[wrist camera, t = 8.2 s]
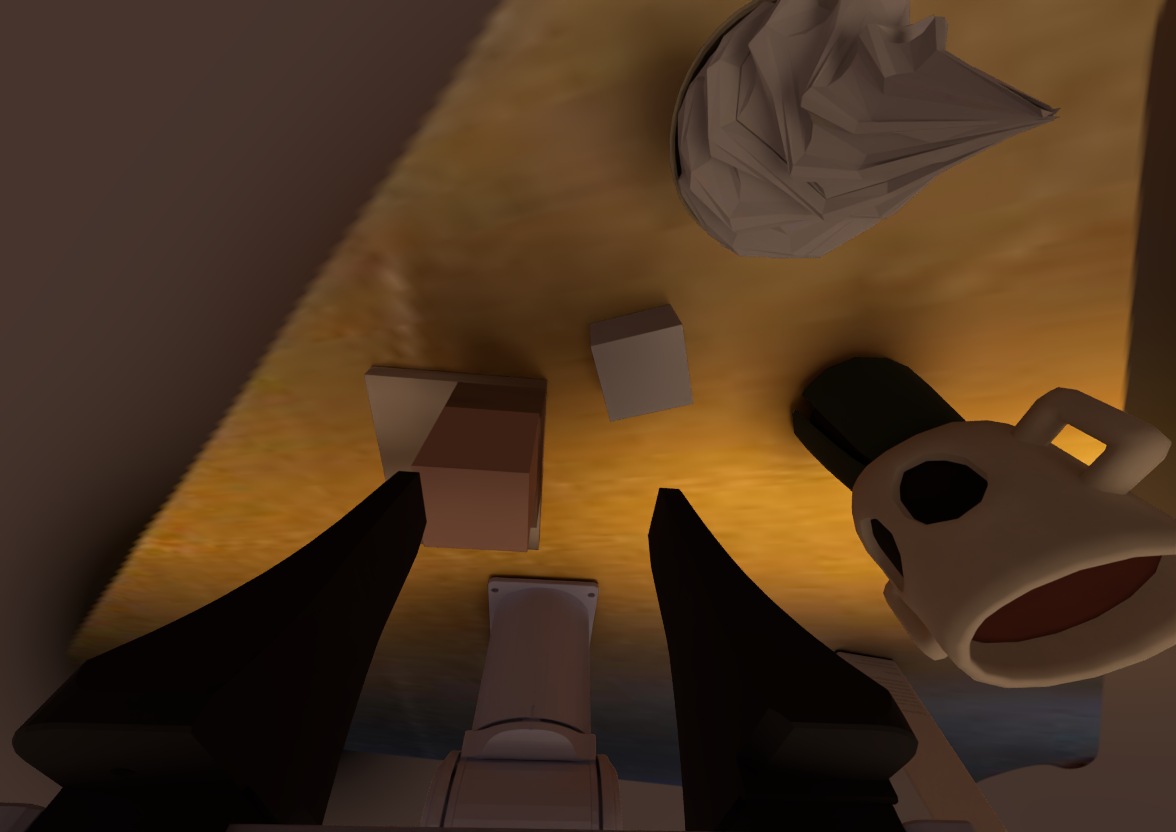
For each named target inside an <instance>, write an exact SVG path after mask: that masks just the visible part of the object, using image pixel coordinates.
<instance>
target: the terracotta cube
mask: <svg viewBox="0 0 1176 832" xmlns="http://www.w3.org/2000/svg"><path fill="white" fill-rule="evenodd" d="M538 437H539V413H526V412H512V411H499V410H485V409H472V408H459V407H445V406H444V408H443V410H442V412H441V413H440V415H439V417H438V419H437V420H436V422H435V424H434V426H433V428H432V429H431V431H430V433H429V435H428V437H427V438H426V440H425V442H424V444H423V445H422V447H421V449H420V451H419V453H418V454H417V456H416V458H415V460H414V462H413V463H412V465H411V467H412V472H420V479H421V485H422V492H423V499H424V506H425V512H426V519H427V524H426V527H425V530H424V534H423V542H424V546H425V547H444V548H462V549H480V550H498V551H517V552H527V550H528V543H529V535H530V528H531V521H532V514H533V507H534V500H535V493H536V486H537V462H538Z"/></svg>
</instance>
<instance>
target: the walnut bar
mask: <svg viewBox="0 0 1176 832" xmlns="http://www.w3.org/2000/svg"><path fill="white" fill-rule="evenodd" d="M545 395H546V389H543V388H530V387H517V386H504V385H491V384H478V383H465V382H458V383H457V385H456V387H455V388H454V390H453V392H452V394H451V395H450V397H449V399H448V401H447V403H446V404H445V407H459V408H472V409H485V410H499V411H512V412H526V413H539V437H538V462H537V486H536V493H535V500H534V507H533V514H532V521H531V528H537V520H538V512H539V504H540V496H541V481H542V459H543V438H544V416H545Z"/></svg>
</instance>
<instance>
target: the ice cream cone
mask: <svg viewBox="0 0 1176 832" xmlns="http://www.w3.org/2000/svg"><path fill="white" fill-rule="evenodd" d="M947 30H948V24H947V22H946V19H945V17H935V16H934V14H933V15H931V16H929V17H927V18H925V19H923V20H921V21H919V22H917V23H915V24H912V25H910V10H909V0H753V1H751V2H750V3H748V4H747V5H745V6H744V7H742V8H740V9H739V10H737V11H736V12H735V13H734V14H733V15H731V16H730V17H729V18H728V19H727V20H726V21H725V22H724V23H723V24H721V25H720V26H719V27H718V28H717V29H716V31H715V32H714V33H713V34H712V36H711V37H710V38H709V39H708V40H707V42H706V43H705V44H704V45H703V47H702V48H701V50H700V51H699V53H698V55H697V56H696V58H695V60H694V61H693V63H692V65H691V66H690V68H689V70H688V72H687V74H686V77H685V79H684V81H683V84H682V86H681V88H680V91H679V93H678V97H677V101H676V104H675V108H674V112H673V115H672V123H671V131H670V164H671V169H672V175H673V180H674V183H675V186H676V189H677V192H678V195H679V197H680V199H681V201H682V203H683V205H684V206H685V208H686V210H687V212H688V213H689V214H690V216H691V217H692V218H693V219H694V220H695V221H696V223H697V224H698V225H699V226H700V227H701V228H703V229H704V230H705V231H706V232H707V233H708V235H710V236H711V237H713V238H714V239H716V240H717V241H719V242H720V243H721V246H723V247H725V248H728V249H730V250H731V251H733V252H734V253H736V254H737V255H739V256H749V257H770V258H820V257H822V256H823V255H825V254H827V253H828V252H830V251H832V250H833V249H835V248H837V247H839V246H840V245H842V244H844V243H845V242H847V241H849V240H850V239H852V238H854V237H856V236H857V235H859V234H861V233H862V232H864V231H866V230H868V229H869V228H871V227H873V226H874V225H876V224H877V223H878V222H879V221H880V220H881V219H886V218H888V217H889V216H891V215H892V214H894V213H896V212H897V211H898V210H899V209H900V208H902V207H903V206H904V205H905V204H906V203H907V202H908V201H910V200H911V199H912V198H913V197H914V196H915V195H916V194H917V193H919V192H920V191H921V190H922V189H923V188H924V187H925V186H927V185H928V184H929V183H930V182H931V181H932V180H933V179H934V178H936V177H937V176H938V175H939V174H940V173H942V172H944V171H946V170H948V169H950V168H951V167H953V166H955V165H957V164H959V163H961V162H963V161H964V160H966V159H968V158H970V157H972V156H974V155H976V154H978V153H980V152H982V151H984V150H986V149H988V148H990V147H992V146H994V145H996V144H998V143H1000V142H1002V141H1004V140H1006V139H1008V138H1010V137H1012V136H1014V135H1016V134H1019V133H1022V132H1024V131H1027V130H1029V129H1032V128H1035V127H1037V126H1040V125H1043V124H1045V123H1048V122H1050V121H1053V120H1054V119H1056V118H1059V117H1057V116H1053V115H1054V114H1055V113H1056V112H1057V111H1058V110H1059V109H1060V108H1058V109H1052V108H1051V107H1050V106H1049V105H1047V104H1045V103H1043V102H1041V101H1039V100H1037V99H1035V98H1033V97H1031V96H1029V95H1027V94H1025V93H1023V92H1021V91H1019V90H1018V89H1016V88H1014V87H1012V86H1010V85H1008V84H1006V83H1004V82H1002V81H1000V80H998V79H996V78H994V77H992V76H990V75H988V74H987V73H985V72H983V71H981V70H979V69H977V68H974V67H972V66H970V65H969V64H967V63H965V62H964V61H962V60H961V59H959V58H957V57H956V56H954V55H953V54H951V53H949V52H948V51H946V50H945V46H946V38H947Z"/></svg>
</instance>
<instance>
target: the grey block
mask: <svg viewBox="0 0 1176 832" xmlns="http://www.w3.org/2000/svg"><path fill="white" fill-rule="evenodd" d="M590 344H591V350H592V354H593V357H594V361H595V365H596V369H597V373H598V376H599V380H600V384H601V388H602V391H603V395H604V399H605V403H606V407H607V410H608V414H609V418H610V422H611V421H615V420H620V419H625V418H629V417H634V416H639V415H643V414H648V413H653V412H657V411H662V410H666V409H671V408H676V407H680V406H685V405H690V404H693V399H692V392H691V384H690V377H689V370H688V362H687V355H686V348H685V340H684V333H683V326H682V323H681V321H680V320H679V318H678V316H677V315H676V313H675V311H674V310H673V308H672V306H671V305H665V306H661V307H657V308H653V309H649V310H645V311H641V312H637V313H633V314H629V315H625V316H621V317H617V318H613V319H609V320H605V321H601V322H596V323H592V324H590Z"/></svg>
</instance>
